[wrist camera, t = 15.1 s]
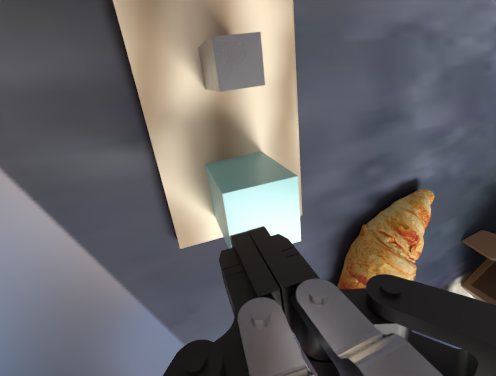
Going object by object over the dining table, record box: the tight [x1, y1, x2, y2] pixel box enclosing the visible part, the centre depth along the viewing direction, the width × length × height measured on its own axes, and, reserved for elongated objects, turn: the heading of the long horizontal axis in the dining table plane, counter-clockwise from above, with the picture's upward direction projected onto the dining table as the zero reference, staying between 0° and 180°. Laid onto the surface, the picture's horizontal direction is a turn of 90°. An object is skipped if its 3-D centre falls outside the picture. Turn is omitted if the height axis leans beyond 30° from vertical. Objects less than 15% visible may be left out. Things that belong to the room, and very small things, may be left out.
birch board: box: [113, 0, 302, 249], centre depth 25 cm, size 14×22×2 cm, turn 7°
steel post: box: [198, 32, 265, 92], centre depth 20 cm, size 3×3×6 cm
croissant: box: [337, 189, 435, 289], centre depth 36 cm, size 21×10×8 cm, turn 147°
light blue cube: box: [205, 152, 301, 249], centre depth 24 cm, size 6×6×8 cm
